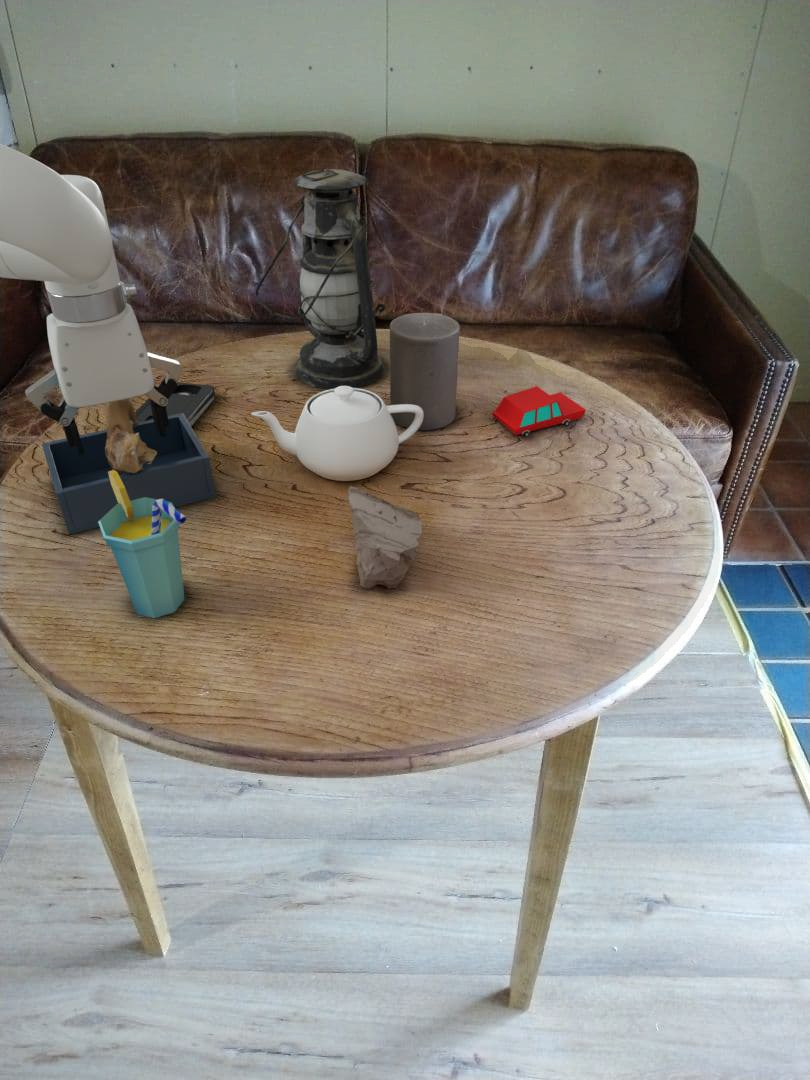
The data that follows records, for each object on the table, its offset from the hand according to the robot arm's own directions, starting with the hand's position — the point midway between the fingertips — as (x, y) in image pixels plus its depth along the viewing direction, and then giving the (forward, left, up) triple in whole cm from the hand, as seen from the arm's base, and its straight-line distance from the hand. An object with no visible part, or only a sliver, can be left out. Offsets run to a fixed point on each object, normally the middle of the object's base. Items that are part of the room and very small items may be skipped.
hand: (121, 440), depth 96 cm
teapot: (+26, -6, -7) cm, 28 cm away
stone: (+22, -27, -7) cm, 36 cm away
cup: (-2, -23, -7) cm, 25 cm away
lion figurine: (+1, +1, -3) cm, 3 cm away
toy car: (+56, -8, -7) cm, 57 cm away
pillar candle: (+42, +1, -7) cm, 43 cm away
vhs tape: (+9, +17, -7) cm, 21 cm away
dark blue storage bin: (0, 0, -7) cm, 7 cm away
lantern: (+35, +20, -7) cm, 41 cm away
